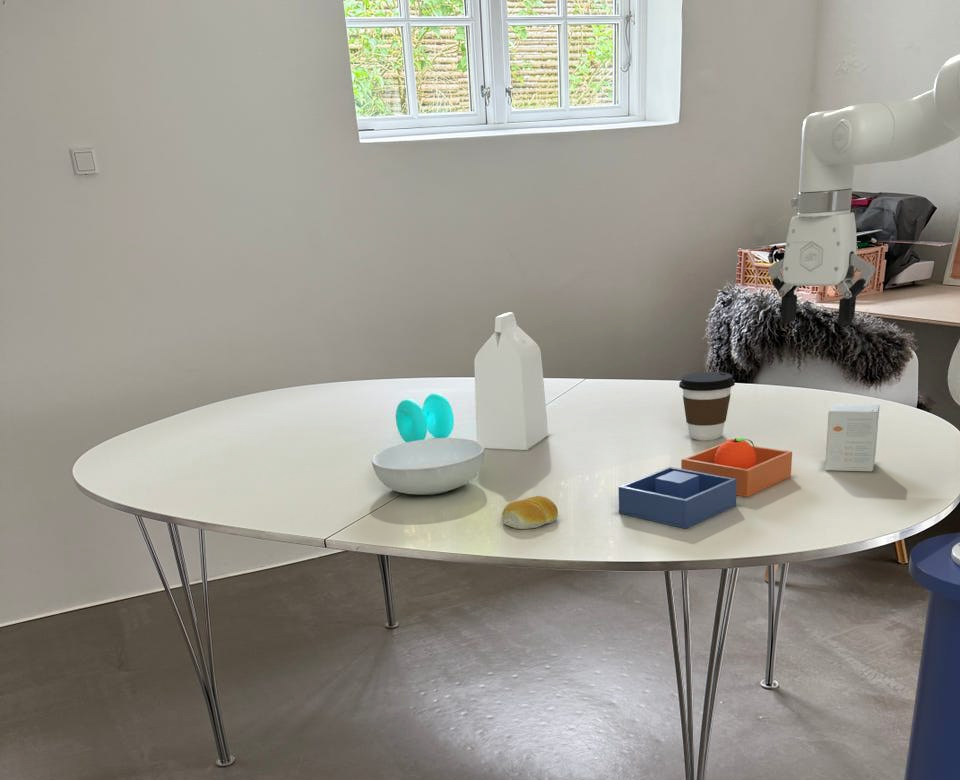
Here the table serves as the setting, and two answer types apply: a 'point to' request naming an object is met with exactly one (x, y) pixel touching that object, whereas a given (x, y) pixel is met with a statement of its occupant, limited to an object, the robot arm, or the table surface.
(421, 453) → the serving bowl
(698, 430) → the coffee cup
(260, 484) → the table surface
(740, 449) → the clementine
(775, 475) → the terracotta bin
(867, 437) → the small box
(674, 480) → the blue block
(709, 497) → the blue bin
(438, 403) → the cyan plastic rounded piece
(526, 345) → the milk
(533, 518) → the bread roll
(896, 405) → the table surface
